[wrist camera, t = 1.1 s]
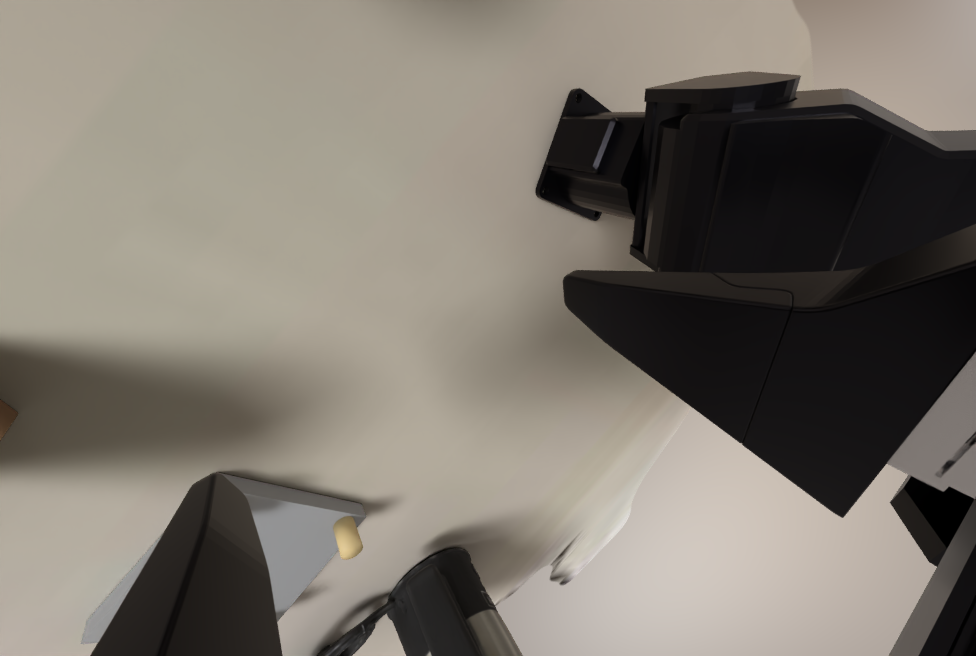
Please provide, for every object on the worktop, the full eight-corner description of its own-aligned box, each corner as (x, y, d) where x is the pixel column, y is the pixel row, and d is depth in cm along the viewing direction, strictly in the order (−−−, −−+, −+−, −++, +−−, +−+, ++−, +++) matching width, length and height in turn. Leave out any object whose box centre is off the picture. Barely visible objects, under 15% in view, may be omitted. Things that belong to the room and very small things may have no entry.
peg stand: (216, 472, 20) (215, 521, 18) (361, 503, 27) (375, 542, 25) (86, 620, 20) (68, 692, 17) (268, 614, 27) (273, 664, 25)
